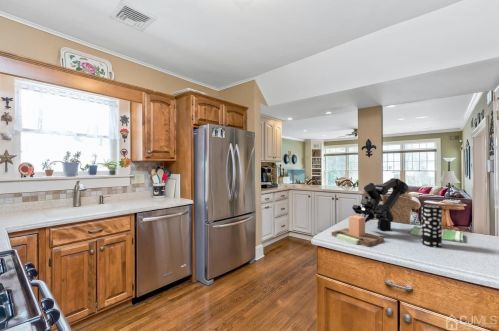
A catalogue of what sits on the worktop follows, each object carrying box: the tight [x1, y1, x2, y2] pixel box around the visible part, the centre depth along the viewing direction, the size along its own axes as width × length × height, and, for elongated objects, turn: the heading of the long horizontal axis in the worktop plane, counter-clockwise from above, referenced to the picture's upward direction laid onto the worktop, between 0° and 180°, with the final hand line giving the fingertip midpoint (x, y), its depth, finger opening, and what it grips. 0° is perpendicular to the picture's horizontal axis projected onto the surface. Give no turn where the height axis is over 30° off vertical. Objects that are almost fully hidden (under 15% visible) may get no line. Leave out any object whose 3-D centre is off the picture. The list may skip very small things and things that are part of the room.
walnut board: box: [331, 227, 384, 248], centre depth 133 cm, size 15×22×2 cm
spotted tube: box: [420, 204, 443, 249], centre depth 122 cm, size 8×8×20 cm
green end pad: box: [336, 234, 359, 245], centre depth 129 cm, size 3×12×2 cm, turn 32°
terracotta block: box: [348, 214, 366, 237], centre depth 133 cm, size 6×6×10 cm
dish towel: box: [409, 225, 465, 243], centre depth 138 cm, size 18×23×3 cm
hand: (362, 223), depth 137 cm, fingers closed
